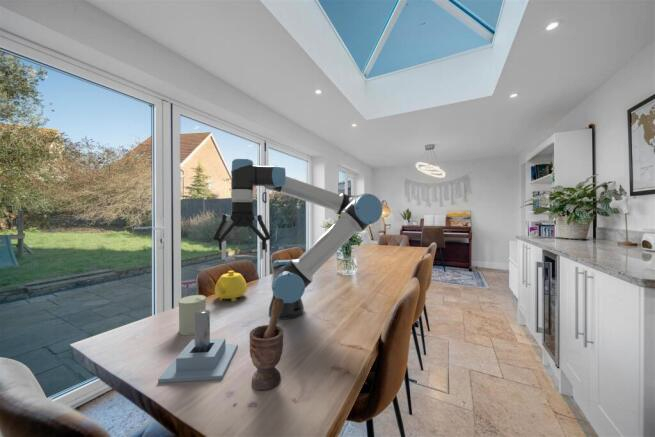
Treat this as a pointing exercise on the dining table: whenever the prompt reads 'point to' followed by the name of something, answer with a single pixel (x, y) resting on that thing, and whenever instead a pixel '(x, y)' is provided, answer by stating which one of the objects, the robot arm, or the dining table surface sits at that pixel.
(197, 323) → the peg
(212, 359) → the socket block
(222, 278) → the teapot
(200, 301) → the can
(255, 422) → the dining table surface
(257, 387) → the mortar and pestle
